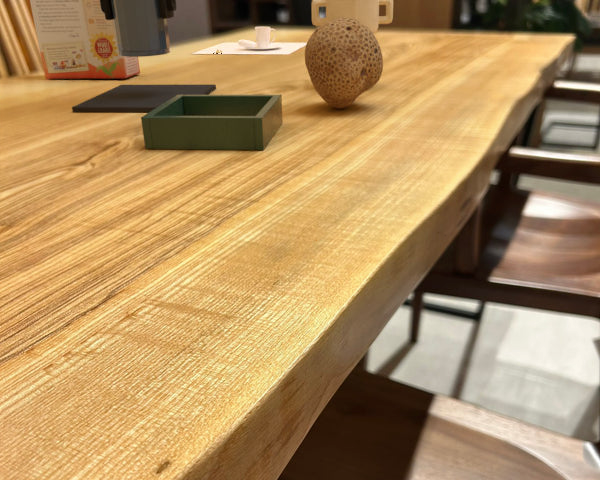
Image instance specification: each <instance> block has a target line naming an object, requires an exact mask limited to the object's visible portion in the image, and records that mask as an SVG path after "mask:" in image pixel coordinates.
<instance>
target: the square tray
mask: <svg viewBox="0 0 600 480" xmlns="http://www.w3.org/2000/svg"><path fill="white" fill-rule="evenodd" d="M282 97H283V96H282V94H208V95H176V96H175V97H173V98H172V99H170V100H168V101H167V102H165V103H164V104H162V105H160V106H159V107H157V108H156V109H154V110H152V111H151V112H147V113H146V114H143V116H141V117H140V118H141V120H140V121H141V128H142V135H143V141H144V148H145V150H198V151H199V150H203V151H205V150H207V151H208V150H209V151H211V150H212V151H265V149H266V147H267V146H268V144H269V143H270V142H271V140H272V139H273V137H274V136H275V134H276V133H277V131H278V130H279V128H280V127H281V126H282V124H283V98H282Z"/></svg>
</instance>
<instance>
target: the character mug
mask: <svg viewBox="0 0 600 480" xmlns="http://www.w3.org/2000/svg"><path fill="white" fill-rule="evenodd" d="M380 6H385V15H380ZM320 7H321V8H322V7H325V17H320ZM338 17H348V18H352V19H355V20H357V21H359V22H360V23H362V24H363V25H364V26H366V27H367V28H368V29H369V30H371V31H372V33H373V34H374V35H376V34H377V32H378V29H379V25H389V24H391V23H392V22H393V20H394V19H393V18H394V0H311V23H312V26H316V27H319V26H320V25H322V24H324V23H326V22H330V21H332V20H334V19H336V18H338Z"/></svg>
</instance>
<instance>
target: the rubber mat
mask: <svg viewBox="0 0 600 480" xmlns="http://www.w3.org/2000/svg"><path fill="white" fill-rule="evenodd" d="M214 89H215V90H217V85H216V84H215V83H214V84H120V85H118V86H115V87H113V88H111V89H108V90H106V91H104V92H102V93H100V94H97V95H95V96H93V97H91V98H89V99H86V100H84V101H82V102H80V103H78V104H76V105H73V106H72V107H71V109H72V112H73V113H149V112H151V111H152V110H154V109H156V108H157V107H159V106H160V105H162V104H164V103H165V102H167V101H168V100H170V99H172V98H173V97H175V96H176V95H207V94H208V95H210V94H211V93H212V92H214V91H215V90H214ZM213 90H214V91H213ZM211 91H212V92H211ZM210 92H211V93H210Z"/></svg>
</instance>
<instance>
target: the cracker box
mask: <svg viewBox="0 0 600 480" xmlns="http://www.w3.org/2000/svg"><path fill="white" fill-rule="evenodd" d="M29 2H30V9H31V13H32V18H33V24H34V27H35V32H36V33H35V34H36V38H37V43H38V49H39V53H40V58H41V63H42V69H43V72H44V77H45V79H46V80H47V79H48V80H75V79H80V80H81V79H95V80H96V79H97V80H100V79H101V80H106V79H107V80H111V79H112V80H125V79H128V78H131V77H135V76H138V75H139V74H141V68H140V62H139V61H140V60H139V57H127V56H120V55H119V49H118V42H117V36H116V29H115V23H114V19H113V20H106V18H105V13H104V12H102V10H101V5H100V0H29Z"/></svg>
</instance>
